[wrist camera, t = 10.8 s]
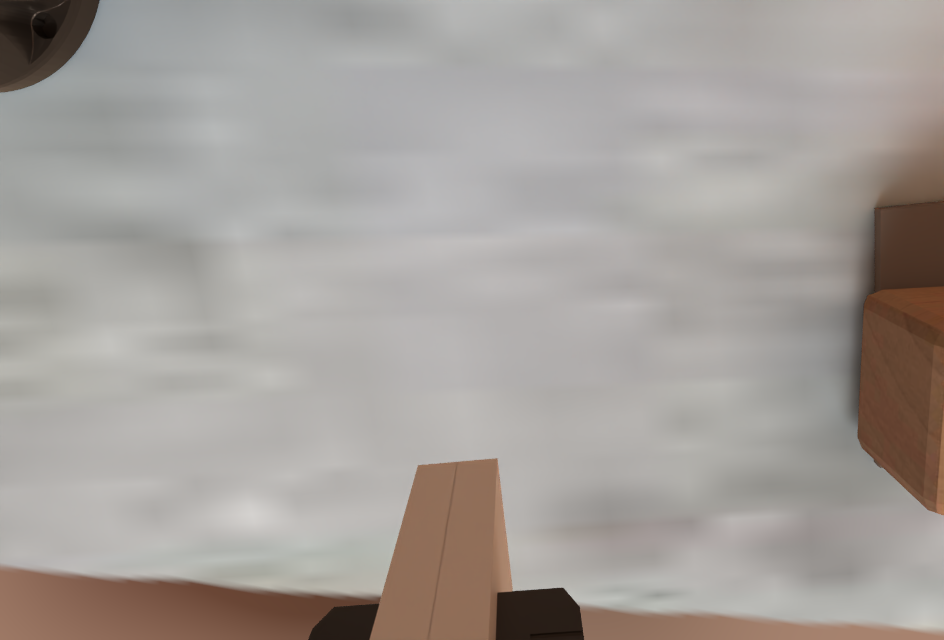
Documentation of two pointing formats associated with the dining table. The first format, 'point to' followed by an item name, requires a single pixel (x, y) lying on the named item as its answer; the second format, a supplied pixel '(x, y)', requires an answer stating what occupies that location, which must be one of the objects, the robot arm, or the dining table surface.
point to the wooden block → (905, 389)
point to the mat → (909, 247)
